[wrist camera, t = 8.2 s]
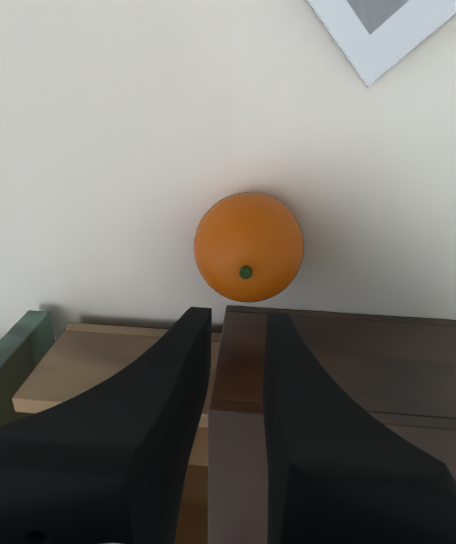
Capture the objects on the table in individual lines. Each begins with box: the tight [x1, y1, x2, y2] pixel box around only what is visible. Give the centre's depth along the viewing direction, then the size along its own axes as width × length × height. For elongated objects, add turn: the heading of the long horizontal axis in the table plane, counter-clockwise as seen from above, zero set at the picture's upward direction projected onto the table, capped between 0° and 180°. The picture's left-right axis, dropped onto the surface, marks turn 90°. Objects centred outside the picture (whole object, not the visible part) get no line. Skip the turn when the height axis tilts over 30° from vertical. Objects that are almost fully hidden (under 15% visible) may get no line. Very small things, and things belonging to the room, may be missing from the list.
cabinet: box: [208, 306, 456, 544], centre depth 22 cm, size 14×12×8 cm
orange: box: [194, 192, 304, 302], centre depth 19 cm, size 5×5×5 cm
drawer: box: [0, 310, 222, 544], centre depth 23 cm, size 18×11×6 cm, turn 89°
